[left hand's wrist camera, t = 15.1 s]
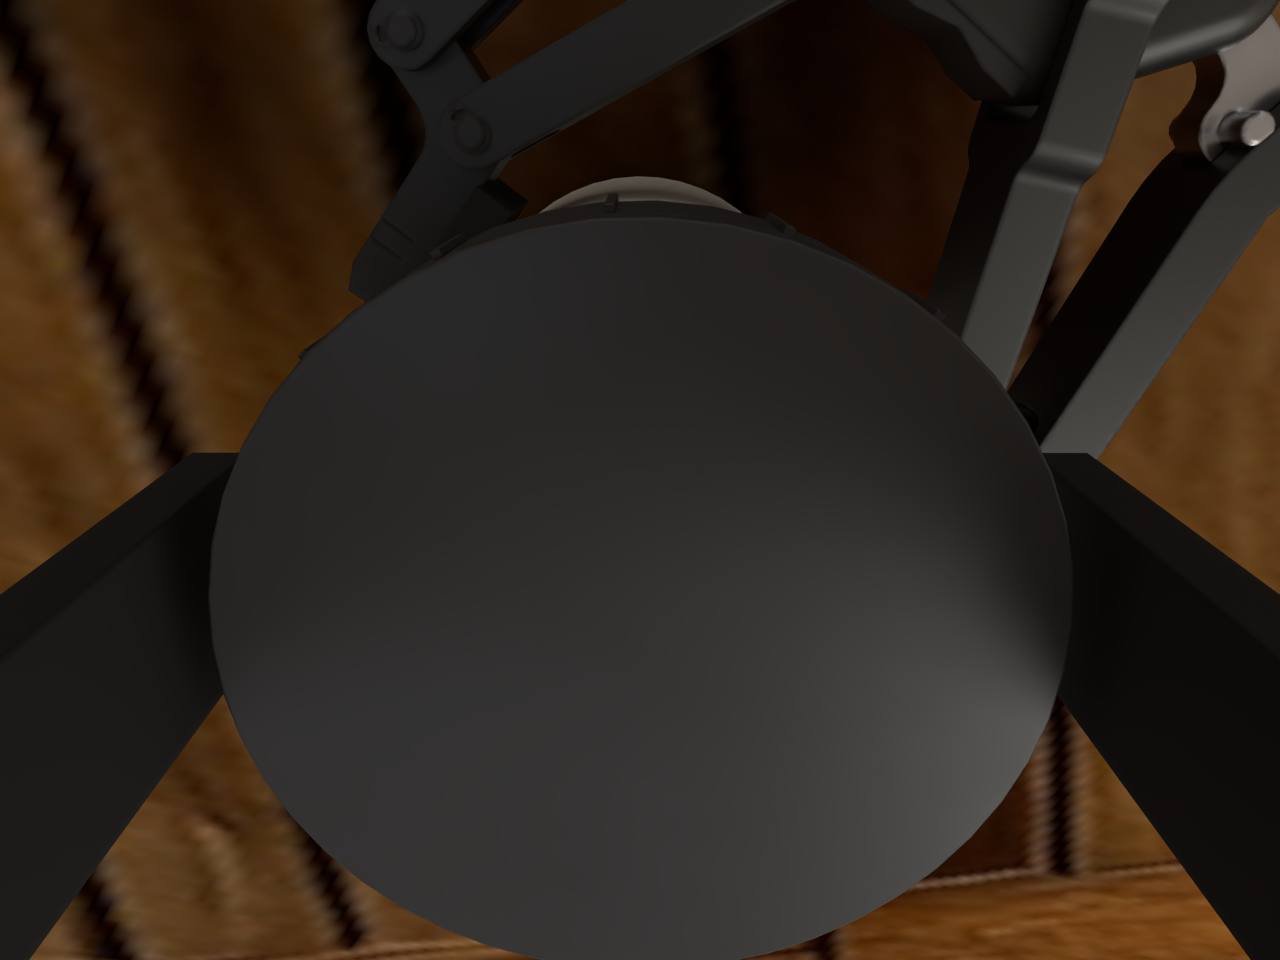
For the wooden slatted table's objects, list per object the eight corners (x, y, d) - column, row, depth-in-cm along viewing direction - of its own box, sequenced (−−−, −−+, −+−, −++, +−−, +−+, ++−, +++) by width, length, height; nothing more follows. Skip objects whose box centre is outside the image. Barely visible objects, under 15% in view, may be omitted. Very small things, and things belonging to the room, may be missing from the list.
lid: (1136, 653, 12) (1221, 745, 10) (570, 955, 14) (559, 1074, 13) (753, 6, 9) (780, -22, 8) (112, 501, 11) (13, 573, 10)
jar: (591, 537, 27) (538, 995, 13) (419, 288, 24) (110, 521, 10) (851, 392, 25) (1120, 736, 11) (698, 108, 22) (797, 83, 8)
